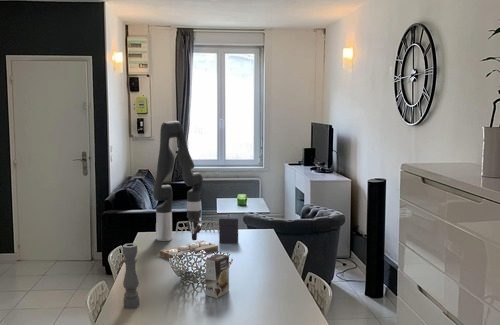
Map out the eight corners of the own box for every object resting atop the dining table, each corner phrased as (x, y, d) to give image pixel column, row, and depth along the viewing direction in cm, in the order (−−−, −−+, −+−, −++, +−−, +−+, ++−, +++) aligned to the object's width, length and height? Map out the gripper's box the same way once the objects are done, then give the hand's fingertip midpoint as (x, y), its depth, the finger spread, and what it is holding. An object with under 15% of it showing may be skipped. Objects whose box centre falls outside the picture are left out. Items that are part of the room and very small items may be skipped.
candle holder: (125, 302, 200) (123, 243, 197) (140, 302, 201) (138, 243, 198) (122, 309, 194) (120, 247, 191) (138, 308, 195) (136, 247, 192)
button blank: (177, 251, 266) (177, 246, 266) (185, 249, 269) (185, 244, 269) (183, 253, 263) (182, 248, 262) (190, 251, 266) (190, 246, 266)
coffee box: (217, 298, 205) (217, 261, 203) (205, 295, 209) (204, 258, 207) (229, 291, 213) (229, 255, 211) (217, 288, 216) (217, 253, 214)
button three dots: (188, 248, 271) (188, 243, 271) (195, 246, 274) (195, 242, 274) (193, 250, 267) (193, 245, 267) (200, 248, 271) (200, 244, 270)
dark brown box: (238, 242, 290) (238, 217, 289) (237, 244, 286) (237, 219, 284) (220, 241, 291) (220, 217, 290) (219, 243, 287) (218, 218, 285)
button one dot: (198, 247, 276) (198, 243, 275) (205, 246, 279) (205, 241, 279) (203, 249, 272) (203, 244, 272) (210, 247, 275) (210, 243, 275)
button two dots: (167, 255, 262) (166, 250, 261) (174, 253, 265) (174, 248, 264) (172, 257, 258) (171, 252, 258) (179, 255, 261) (179, 250, 261)
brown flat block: (159, 255, 264) (159, 250, 264) (202, 245, 283) (202, 240, 283) (174, 261, 254) (174, 256, 253) (218, 250, 273) (218, 245, 273)
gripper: (181, 208, 270) (181, 239, 272) (195, 211, 261) (195, 243, 262) (192, 206, 275) (192, 236, 277) (206, 209, 266) (207, 241, 267)
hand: (194, 240), depth 270 cm, fingers closed
